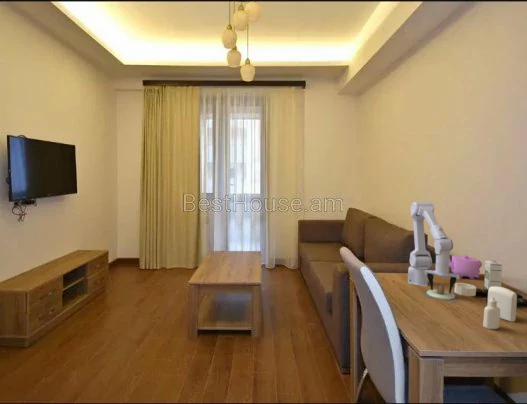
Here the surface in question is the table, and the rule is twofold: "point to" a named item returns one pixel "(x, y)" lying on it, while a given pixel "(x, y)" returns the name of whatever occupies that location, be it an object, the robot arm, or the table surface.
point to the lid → (440, 293)
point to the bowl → (465, 289)
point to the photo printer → (504, 302)
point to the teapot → (465, 266)
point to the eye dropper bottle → (491, 315)
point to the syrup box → (492, 274)
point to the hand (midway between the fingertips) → (440, 291)
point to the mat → (440, 299)
